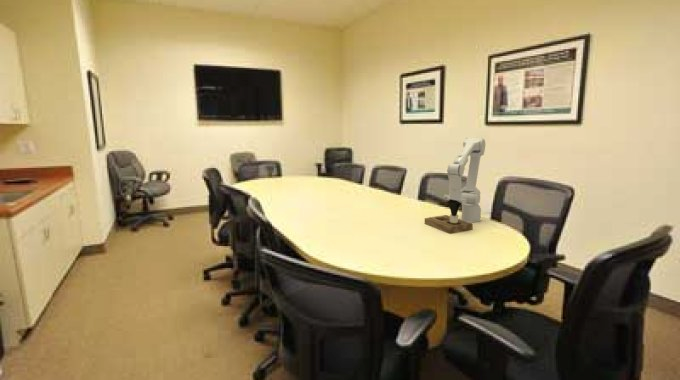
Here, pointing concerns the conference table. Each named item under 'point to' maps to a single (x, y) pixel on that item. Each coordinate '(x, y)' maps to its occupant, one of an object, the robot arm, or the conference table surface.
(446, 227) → the jig plate
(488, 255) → the conference table surface
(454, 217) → the battery
